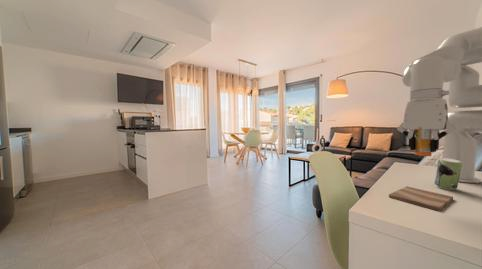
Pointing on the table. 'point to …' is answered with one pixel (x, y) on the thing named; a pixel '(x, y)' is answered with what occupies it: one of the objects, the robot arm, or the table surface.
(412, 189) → the walnut board
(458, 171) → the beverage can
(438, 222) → the table surface
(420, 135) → the supplement box
